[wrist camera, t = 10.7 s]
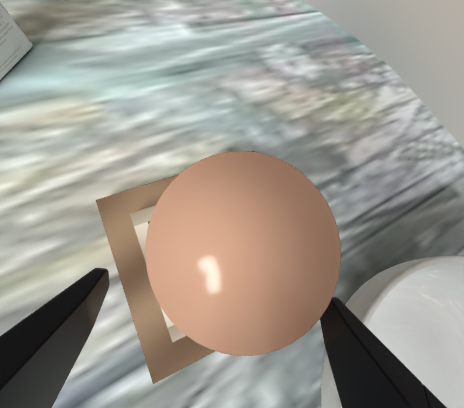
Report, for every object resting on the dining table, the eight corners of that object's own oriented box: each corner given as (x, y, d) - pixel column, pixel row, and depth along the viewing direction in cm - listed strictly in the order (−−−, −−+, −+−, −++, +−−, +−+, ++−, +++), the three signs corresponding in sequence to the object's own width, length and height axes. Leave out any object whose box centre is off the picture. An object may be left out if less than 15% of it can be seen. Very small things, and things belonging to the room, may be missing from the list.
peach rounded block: (249, 268, 18) (372, 296, 6) (191, 294, 17) (189, 402, 5) (226, 212, 19) (293, 130, 6) (169, 233, 18) (117, 184, 5)
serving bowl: (408, 599, 16) (552, 829, 10) (240, 360, 18) (267, 420, 12) (526, 382, 22) (669, 437, 15) (390, 214, 24) (466, 199, 17)
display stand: (308, 293, 20) (326, 299, 18) (156, 372, 17) (150, 394, 14) (249, 157, 22) (257, 144, 20) (103, 204, 19) (88, 196, 16)
